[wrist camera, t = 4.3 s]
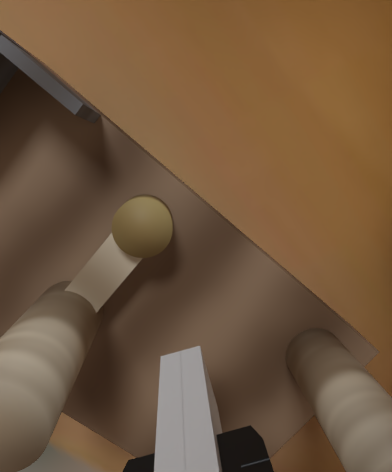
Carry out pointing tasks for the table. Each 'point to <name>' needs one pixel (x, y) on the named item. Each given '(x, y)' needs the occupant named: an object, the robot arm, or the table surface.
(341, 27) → the table surface
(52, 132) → the peg board
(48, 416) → the hinged leg
